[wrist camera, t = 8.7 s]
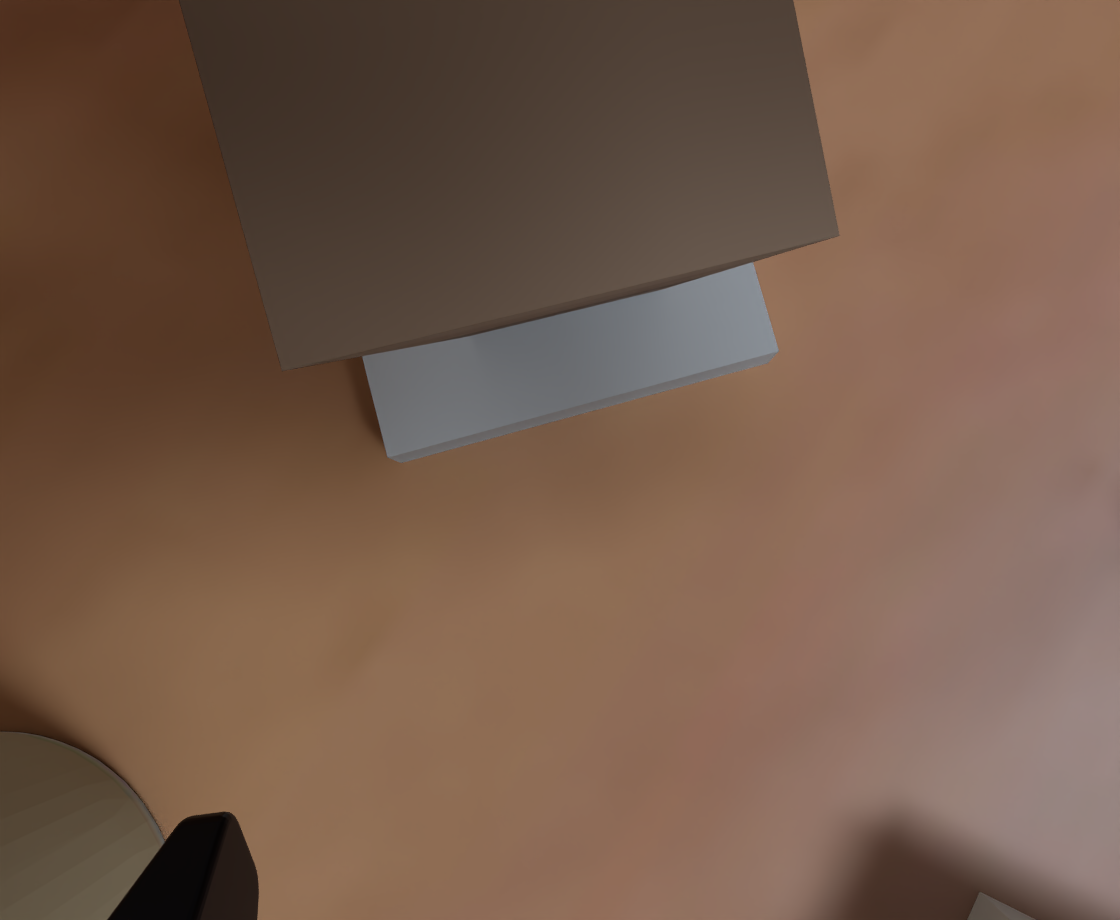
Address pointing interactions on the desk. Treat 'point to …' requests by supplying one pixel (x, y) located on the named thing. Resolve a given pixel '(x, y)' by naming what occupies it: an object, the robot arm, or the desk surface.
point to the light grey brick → (994, 910)
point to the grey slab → (568, 363)
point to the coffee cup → (67, 832)
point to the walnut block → (502, 156)
